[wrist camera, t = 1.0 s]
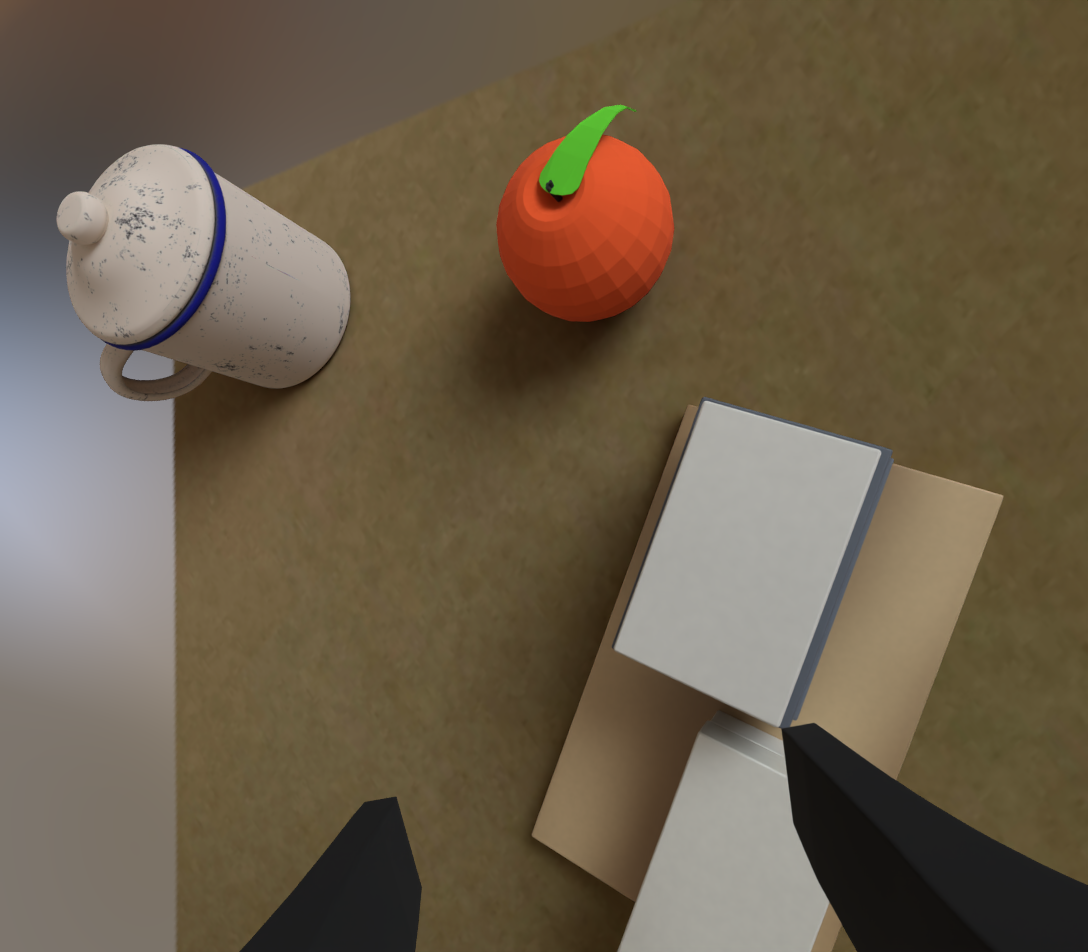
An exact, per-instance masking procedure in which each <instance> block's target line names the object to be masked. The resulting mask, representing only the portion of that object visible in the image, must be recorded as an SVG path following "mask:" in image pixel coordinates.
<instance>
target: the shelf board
mask: <svg viewBox="0 0 1088 952" xmlns="http://www.w3.org/2000/svg"><path fill="white" fill-rule="evenodd" d="M697 410H698V407H696V406H693V405H688V406H687V408H686V411H685V413H684V416H683V419H682V422H681V424H680V427H679V430H678V433H677V435H676V438H675V441H674V444H673V446H672V449H671V452H670V455H669V457H668V460H667V463H666V466H665V468H664V471H663V474H662V477H661V479H660V482H659V485H658V488H657V490H656V493H655V496H654V499H653V501H652V504H651V507H650V510H649V512H648V515H647V518H646V521H645V523H644V526H643V529H642V532H641V534H640V537H639V540H638V543H637V545H636V548H635V551H634V554H633V556H632V559H631V562H630V565H629V567H628V570H627V573H626V576H625V578H624V581H623V584H622V587H621V589H620V592H619V595H618V598H617V600H616V603H615V606H614V609H613V611H612V614H611V617H610V620H609V622H608V625H607V628H606V631H605V633H604V636H603V639H602V642H601V644H600V647H599V650H598V653H597V655H596V658H595V661H594V664H593V666H592V669H591V672H590V675H589V677H588V680H587V683H586V686H585V688H584V691H583V694H582V697H581V699H580V702H579V705H578V708H577V710H576V713H575V716H574V719H573V721H572V724H571V727H570V730H569V732H568V735H567V738H566V741H565V743H564V746H563V749H562V752H561V754H560V757H559V760H558V763H557V765H556V768H555V771H554V774H553V776H552V779H551V782H550V785H549V787H548V790H547V793H546V796H545V798H544V801H543V804H542V807H541V809H540V812H539V815H538V818H537V820H536V823H535V826H534V829H533V831H532V837H534V838H535V839H537V840H538V841H540V842H541V843H543V844H545V845H546V846H548V847H549V848H551V849H552V850H554V851H556V852H557V853H559V854H560V855H562V856H563V857H565V858H566V859H568V860H570V861H571V862H573V863H574V864H576V865H577V866H579V867H581V868H582V869H584V870H585V871H587V872H588V873H590V874H591V875H593V876H595V877H596V878H598V879H599V880H601V881H602V882H604V883H606V884H607V885H609V886H610V887H612V888H613V889H615V890H617V891H618V892H620V893H621V894H623V895H624V896H626V897H627V898H629V899H631V900H632V901H634V902H636V899H637V897H638V894H639V891H640V888H641V886H642V883H643V880H644V878H645V875H646V872H647V870H648V867H649V864H650V861H651V859H652V856H653V853H654V851H655V848H656V845H657V842H658V840H659V837H660V834H661V832H662V829H663V826H664V823H665V821H666V818H667V815H668V813H669V810H670V807H671V805H672V802H673V799H674V796H675V794H676V791H677V788H678V786H679V783H680V780H681V777H682V775H683V772H684V769H685V767H686V764H687V761H688V758H689V756H690V753H691V750H692V748H693V745H694V742H695V740H696V737H697V734H698V732H699V731H700V730H701V728H702V727H703V725H704V724H705V723H706V721H707V720H708V721H711V719H712V718H713V716H714V715H715V713H716V712H717V711H718V710H720V711H722V712H724V713H726V714H728V715H730V716H732V717H734V718H736V719H738V720H740V721H742V722H745V723H747V724H749V725H751V726H753V727H755V728H757V729H759V730H761V731H763V732H765V733H767V734H769V735H772V736H774V737H776V738H778V739H780V740H782V741H783V738H782V730H781V729H780V728H777V727H773V726H771V725H769V724H767V723H765V722H763V721H761V720H759V719H756V718H754V717H752V716H750V715H748V714H746V713H744V712H742V711H740V710H737V709H735V708H733V707H731V706H729V705H727V704H725V703H723V702H721V701H719V700H716V699H714V698H712V697H710V696H708V695H706V694H704V693H702V692H700V691H697V690H695V689H693V688H691V687H689V686H687V685H685V684H683V683H681V682H679V681H676V680H674V679H672V678H670V677H668V676H666V675H664V674H662V673H660V672H657V671H655V670H653V669H651V668H649V667H647V666H645V665H643V664H641V663H639V662H636V661H634V660H632V659H630V658H628V657H626V656H624V655H622V654H620V653H617V652H616V651H615V650H614V649H612V644H613V641H614V638H615V635H616V633H617V630H618V627H619V624H620V622H621V619H622V616H623V613H624V611H625V608H626V605H627V602H628V600H629V597H630V594H631V591H632V589H633V586H634V583H635V580H636V578H637V575H638V572H639V569H640V567H641V564H642V561H643V558H644V556H645V553H646V550H647V547H648V545H649V542H650V539H651V536H652V534H653V531H654V528H655V526H656V523H657V520H658V517H659V515H660V512H661V509H662V506H663V504H664V501H665V498H666V495H667V493H668V490H669V487H670V484H671V482H672V479H673V476H674V473H675V471H676V468H677V465H678V462H679V460H680V457H681V454H682V451H683V449H684V446H685V443H686V440H687V438H688V435H689V432H690V429H691V427H692V424H693V421H694V418H695V416H696V413H697ZM1002 501H1003V496H1002V495H1000V494H997V493H993V492H990V491H987V490H983V489H980V488H976V487H973V486H969V485H966V484H962V483H959V482H955V481H952V480H949V479H945V478H942V477H938V476H935V475H931V474H928V473H924V472H921V471H917V470H914V469H911V468H907V467H904V466H900V465H897V464H893V465H892V467H891V470H890V473H889V475H888V478H887V481H886V483H885V486H884V489H883V491H882V494H881V497H880V499H879V502H878V505H877V508H876V510H875V513H874V516H873V518H872V521H871V524H870V526H869V529H868V532H867V534H866V537H865V540H864V542H863V545H862V548H861V550H860V553H859V556H858V558H857V561H856V564H855V566H854V569H853V572H852V574H851V577H850V580H849V583H848V585H847V588H846V591H845V593H844V596H843V599H842V601H841V604H840V607H839V609H838V612H837V615H836V617H835V620H834V623H833V625H832V628H831V631H830V633H829V636H828V639H827V641H826V644H825V647H824V649H823V652H822V655H821V657H820V660H819V663H818V666H817V668H816V671H815V674H814V676H813V679H812V682H811V684H810V687H809V690H808V692H807V695H806V698H805V700H804V703H803V706H802V708H801V711H800V714H799V716H798V719H797V720H796V721H795V720H792V723H791V726H790V727H793V726H798V725H804V724H810V723H816V724H817V725H819V726H820V727H821V728H823V729H824V730H826V731H827V732H828V733H830V734H831V735H833V736H834V737H835V738H837V739H838V740H840V741H841V742H842V743H844V744H845V745H846V746H848V747H849V748H851V749H852V750H853V751H855V752H856V753H858V754H859V755H860V756H862V757H863V758H865V759H866V760H867V761H869V762H870V763H872V764H873V765H874V766H876V767H877V768H879V769H880V770H882V771H883V772H884V773H886V774H887V775H889V776H890V777H892V778H893V779H895V780H897V778H898V775H899V772H900V770H901V767H902V765H903V762H904V759H905V757H906V754H907V751H908V749H909V746H910V743H911V741H912V738H913V736H914V733H915V730H916V728H917V725H918V722H919V720H920V717H921V714H922V712H923V709H924V706H925V704H926V701H927V699H928V696H929V693H930V691H931V688H932V685H933V683H934V680H935V677H936V675H937V672H938V670H939V667H940V664H941V662H942V659H943V656H944V654H945V651H946V648H947V646H948V643H949V640H950V638H951V635H952V633H953V630H954V627H955V625H956V622H957V619H958V617H959V614H960V611H961V609H962V606H963V603H964V601H965V598H966V596H967V593H968V590H969V588H970V585H971V582H972V580H973V577H974V574H975V572H976V569H977V567H978V564H979V561H980V559H981V556H982V553H983V551H984V548H985V545H986V543H987V540H988V537H989V535H990V532H991V530H992V527H993V524H994V522H995V519H996V516H997V514H998V511H999V508H1000V506H1001V503H1002ZM841 926H842V924H841V922H840V920H839V918H838V916H837V915H836V913H835V911H834V909H833V908H832V906H831V904H830V903H829V905H828V908H827V910H826V913H825V916H824V918H823V921H822V924H821V926H820V929H819V932H818V934H817V937H816V940H815V942H814V945H813V948H812V950H811V952H832V949H833V947H834V944H835V941H836V939H837V936H838V934H839V931H840V928H841Z"/></svg>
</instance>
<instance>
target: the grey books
mask: <svg viewBox="0 0 1088 952" xmlns="http://www.w3.org/2000/svg"><path fill="white" fill-rule="evenodd" d="M704 401H709V402H713V403H716V404H720V405H723V406H727V407H731V408H734V409H738V410H741V411H745V412H748V413H752V414H755V415H759V416H762V417H766V418H769V419H773V420H776V421H780V422H783V423H787V424H790V425H794V426H797V427H801V428H805V429H808V430H812V431H815V432H819V433H822V434H826V435H829V436H833V437H836V438H840V439H843V440H847V441H850V442H854V443H857V444H861V445H864V446H868V447H871V448H875V449H879V450H880V451H881V456H880V459H879V462H878V464H877V467H876V470H875V472H874V475H873V478H872V480H871V483H870V486H869V488H868V491H867V494H866V496H865V499H864V502H863V505H862V507H861V510H860V513H859V515H858V518H857V521H856V523H855V526H854V529H853V531H852V534H851V537H850V539H849V542H848V545H847V547H846V550H845V553H844V555H843V558H842V561H841V564H840V566H839V569H838V572H837V574H836V577H835V580H834V582H833V585H832V588H831V590H830V593H829V596H828V598H827V601H826V604H825V606H824V609H823V612H822V615H821V617H820V620H819V623H818V625H817V628H816V631H815V633H814V636H813V639H812V641H811V644H810V647H809V649H808V652H807V655H806V657H805V660H804V663H803V665H802V668H801V671H800V674H799V676H798V679H797V682H796V684H795V687H794V690H793V692H792V695H791V698H790V700H789V703H788V706H787V708H786V711H785V714H784V716H783V719H782V722H781V725H780V726H779V727H778V728H780V729H781V728H787V727H790V726H791V723H792V720H795V721H796V720H797V719H798V716H799V714H800V711H801V708H802V706H803V703H804V700H805V698H806V695H807V692H808V690H809V687H810V684H811V682H812V679H813V676H814V674H815V671H816V668H817V666H818V663H819V660H820V657H821V655H822V652H823V649H824V647H825V644H826V641H827V639H828V636H829V633H830V631H831V628H832V625H833V623H834V620H835V617H836V615H837V612H838V609H839V607H840V604H841V601H842V599H843V596H844V593H845V591H846V588H847V585H848V583H849V580H850V577H851V574H852V572H853V569H854V566H855V564H856V561H857V558H858V556H859V553H860V550H861V548H862V545H863V542H864V540H865V537H866V534H867V532H868V529H869V526H870V524H871V521H872V518H873V516H874V513H875V510H876V508H877V505H878V502H879V499H880V497H881V494H882V491H883V489H884V486H885V483H886V481H887V478H888V475H889V473H890V470H891V467H892V465H893V462H894V460H893V459H892V458H891V455H892V450H891V449H888V448H885V447H881V446H877V445H874V444H870V443H867V442H863V441H860V440H856V439H853V438H849V437H845V436H842V435H838V434H835V433H831V432H828V431H824V430H821V429H817V428H813V427H810V426H806V425H803V424H799V423H796V422H792V421H789V420H785V419H782V418H778V417H774V416H771V415H767V414H764V413H760V412H757V411H753V410H750V409H746V408H742V407H739V406H735V405H732V404H728V403H725V402H721V401H718V400H714V399H710V398H707V397H703V398H702V399H701V402H700V405H699V407H698V410H697V413H696V416H695V418H694V421H693V424H692V427H691V429H690V432H689V435H688V438H687V440H686V443H685V446H684V449H683V451H682V454H681V457H680V460H679V462H678V465H677V468H676V471H675V473H674V476H673V479H672V482H671V484H670V487H669V490H668V493H667V495H666V498H665V501H664V504H663V506H662V509H661V512H660V515H659V517H658V520H657V523H656V526H655V528H654V531H653V534H652V536H651V539H650V542H649V545H648V547H647V550H646V553H645V556H644V558H643V561H642V564H641V567H640V569H639V572H638V575H637V578H636V580H635V583H634V586H633V589H632V591H631V594H630V597H629V600H628V602H627V605H626V608H625V611H624V613H623V616H622V619H621V622H620V624H619V627H618V630H617V633H616V635H615V638H614V641H613V644H612V649H614V645H615V642H616V640H617V637H618V634H619V631H620V629H621V626H622V623H623V621H624V618H625V615H626V612H627V610H628V607H629V604H630V601H631V599H632V596H633V593H634V590H635V588H636V585H637V582H638V579H639V577H640V574H641V571H642V568H643V566H644V563H645V560H646V557H647V555H648V552H649V549H650V546H651V544H652V541H653V538H654V535H655V533H656V530H657V527H658V524H659V522H660V519H661V516H662V513H663V511H664V508H665V505H666V502H667V500H668V497H669V494H670V491H671V489H672V486H673V483H674V481H675V478H676V475H677V472H678V470H679V467H680V464H681V461H682V459H683V456H684V453H685V450H686V448H687V445H688V442H689V439H690V437H691V434H692V431H693V428H694V426H695V423H696V420H697V417H698V415H699V412H700V409H701V406H702V404H703V402H704Z"/></svg>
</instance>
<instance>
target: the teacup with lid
mask: <svg viewBox="0 0 1088 952" xmlns="http://www.w3.org/2000/svg"><path fill="white" fill-rule="evenodd" d="M57 226H58V229H59V230H60V232H61V234H62V235H63V236H64V237H65V238H66V239H68V240H70V241H69V247H68V254H67V284H68V290H69V295H70V299H71V302H72V305H73V307H74V309H75V312H76V313H77V315H78V317H79V319H80V320H81V321H82V323H83V324H84V325H85V326H86V327H87V328H88V329H89V330H90V331H91V332H92V333H93V334H94V335H95V336H97V337H98V338H100V339H101V340H103V341H104V342H105V343H107V345H106V346H105V348H104V350H103V352H102V354H101V358H100V370H101V373H102V376H103V378H104V380H105V381H106V383H107V384H108V385H109V387H110V388H111V389H112V390H113V391H114V392H116V393H117V394H119V395H121V396H123V397H126V398H129V399H134V400H140V401H160V400H166V399H171V398H175V397H178V396H181V395H183V394H186V393H188V392H190V391H191V390H193V389H194V388H196V387H197V386H198V385H200V384H201V383H202V382H203V381H204V380H205V379H206V378H207V377H208V376H209V374H210V373H211V372H212V371H213V372H216V373H220V374H223V375H226V376H229V377H233V378H236V379H239V380H243V381H246V382H249V383H252V384H256V385H259V386H262V387H267V388H286V387H290V386H294V385H297V384H299V383H301V382H303V381H305V380H307V379H308V378H310V377H311V376H313V375H314V374H315V373H316V372H317V371H319V370H320V369H321V368H322V367H323V366H324V365H325V364H326V362H327V361H328V360H329V359H330V357H331V356H332V355H333V353H334V352H335V350H336V348H337V347H338V345H339V343H340V341H341V339H342V336H343V334H344V331H345V328H346V325H347V321H348V317H349V310H350V286H349V280H348V276H347V272H346V270H345V267H344V265H343V263H342V261H341V259H340V258H339V256H338V255H337V253H336V252H335V251H334V250H333V249H332V248H331V247H330V246H329V245H328V244H326V243H325V242H324V241H322V240H320V239H319V238H317V237H316V236H314V235H313V234H311V233H309V232H308V231H306V230H305V229H303V228H301V227H300V226H298V225H297V224H295V223H294V222H292V221H290V220H289V219H287V218H286V217H284V216H282V215H281V214H279V213H278V212H276V211H275V210H273V209H271V208H270V207H268V206H267V205H265V204H263V203H262V202H260V201H259V200H257V199H255V198H254V197H252V196H251V195H249V194H248V193H246V192H244V191H243V190H241V189H240V188H238V187H236V186H235V185H233V184H232V183H230V182H229V181H227V180H225V179H224V178H222V177H221V176H219V175H217V174H216V173H214V172H213V170H212V169H211V168H210V167H209V166H208V164H207V163H206V162H205V161H204V160H203V159H202V158H201V157H199V156H198V155H196V154H195V153H193V152H191V151H189V150H186V149H183V148H178V147H174V146H171V145H149V146H144V147H140V148H137V149H135V150H133V151H131V152H129V153H127V154H125V155H124V156H122V157H121V158H119V159H118V160H117V161H115V162H114V163H113V164H112V165H111V166H110V167H109V168H108V169H107V170H106V171H105V172H104V173H103V174H102V175H101V176H100V177H99V179H98V180H97V181H96V182H95V184H94V185H93V187H92V188H91V190H90V191H89V193H86V192H74V193H71V194H69V195H68V196H67V197H66V198H65V199H64V200H63V201H62V203H61V205H60V207H59V210H58V213H57ZM134 350H144V351H147V352H151V353H154V354H158V355H161V356H164V357H167V358H170V359H174V360H177V361H180V362H183V363H187V364H188V365H187V366H186V367H185V368H183V369H182V370H181V371H179V372H178V373H176V374H174V375H172V376H169V377H166V378H162V379H157V380H134V379H129V378H126V377H124V376H122V370H123V367H124V365H125V363H126V361H127V360H128V358H129V357H130V355H131V354H132V353H133V351H134Z"/></svg>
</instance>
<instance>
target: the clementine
mask: <svg viewBox="0 0 1088 952" xmlns="http://www.w3.org/2000/svg"><path fill="white" fill-rule="evenodd" d="M626 108H627V109H629V110H632V111H635V112H636V110H634V109H631V108H629V107H626V106H623V105H616V106H610V107H604V108H603V109H601V110H599V111H597V112H596V113H594V114H592V115H591V116H589V117H588V118H587V119H585V120H584V121H582V122H581V123H580V124H578V125H577V126H576V127H575V128H574V129H573V130H572V131H571V132H570V133H569V134H568V135H567V136H565V137H563V138H560V139H557V140H554V141H552V142H549V143H547V144H545V145H544V146H542V147H541V148H539V149H538V150H536V151H534V152H533V153H532V154H531V155H530V156H529V157H528V158H527V159H526V160H525V161H524V162H523V163H522V164H521V165H520V166H519V167H518V169H517V170H516V172H515V173H514V175H513V176H512V178H511V179H510V181H509V183H508V185H507V188H506V190H505V193H504V195H503V198H502V200H501V203H500V205H499V212H498V218H497V236H498V245H499V252H500V257H501V259H502V262H503V265H504V267H505V270H506V273H507V275H508V276H509V278H510V279H511V280H512V282H513V283H514V285H515V286H516V287H517V288H518V290H519V291H520V292H521V294H522V295H523V296H524V298H525V299H526V300H527V301H529V302H530V303H532V304H533V305H535V306H536V307H537V308H539V309H540V310H542V311H544V312H546V313H548V314H550V315H552V316H555V317H558V318H561V319H564V320H568V321H582V322H591V321H596V320H600V319H604V318H608V317H612V316H616V315H617V314H619V313H621V312H623V311H625V310H627V309H629V308H631V307H633V306H634V305H635V304H636V303H637V302H638V301H639V300H641V299H642V298H643V297H644V296H645V295H646V294H647V293H648V292H649V291H650V289H651V288H652V287H653V285H654V284H655V282H656V281H657V280H658V278H659V277H660V275H661V273H662V271H663V269H664V266H665V264H666V261H667V259H668V256H669V254H670V252H671V247H672V240H673V233H674V223H673V216H672V208H671V202H670V196H669V193H668V191H667V188H666V186H665V184H664V182H663V180H662V178H661V176H660V174H659V173H658V172H657V170H656V169H655V168H654V166H653V165H652V164H651V163H650V162H649V161H648V160H647V159H646V158H645V157H644V155H643V154H642V153H641V152H640V151H639V150H638V149H636V148H634V147H632V146H630V145H628V144H626V143H624V142H622V141H620V140H618V139H615V138H613V137H611V136H607V135H602V134H603V132H604V131H605V129H606V128H607V127H608V125H609V124H610V122H611V121H612V120H613V119H614V117H615V116H616V115H617V114H618V113H619V112H621V111H623V110H624V109H626Z"/></svg>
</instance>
